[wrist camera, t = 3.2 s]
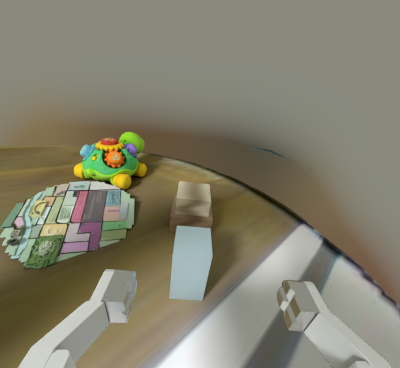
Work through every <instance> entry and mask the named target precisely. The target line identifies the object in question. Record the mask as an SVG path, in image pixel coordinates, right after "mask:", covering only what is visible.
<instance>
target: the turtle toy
mask: <svg viewBox="0 0 400 368" xmlns="http://www.w3.org/2000/svg"><path fill="white" fill-rule="evenodd" d="M143 148H144V141H143V140H142V139H141V138H140V137H139V136H138V135H136V134H135V133H132V132H126V133H124V134H122V136H121V137H120V140H119V141H118V140H116V139H115V138H104V139H102V140H101V141H100V142H98V143H95V144H94V145H91V146H89V145H84V146H83V148H82V149H81V151H80V154H81V155H82V156H83V157H85V158H84V159H83V162H82V163H79V164H77V165H76V166H75V168H74V173H75V175H76V176H77V177H80V178H82V179H89V178H93V179H95V180H100V181H110V182H111V184H112V185H113V186H116V187H118V188H120V189H127V188H129V186H130V185H131V177H130V176H131V175H135V176H139V177H143V176H144V175H145V174H146V171H147V167H146V165H145V164H143V163H139V162H138V159H137V156H136V155H137V154H139V153H140V152H141V151H142V150H143Z"/></svg>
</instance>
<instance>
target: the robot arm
mask: <svg viewBox="0 0 400 368" xmlns="http://www.w3.org/2000/svg"><path fill="white" fill-rule="evenodd" d="M135 278H136V271H127V270H114V269H106V270H105V271H104V272H103V274H102V277H101V279H100V281H99V283H98V285H97V287H96V289H95V291H94V293H93V295H92V297H91V299H90V301H86V302H84V303H83V304H82V305H81V306H80V307H78V308H77V309H76V310H75V311H74V312H72V313H71V314H70V315H69V316H68V317H67V318H65V319H64V320H63V321H62V322H61V323H59V324H58V325H57V326H56V327H55V328H53V329H52V330H51V331H50V332H49V333H47V334H46V335H45V336H44V337H43V338H41V339H40V340H39V341H38V342H37V343H35V344H34V345H33V346H32V347H31V348H30V350H29V351H28V353H27V355H26V356H25V358H24V359H23V361H22V362H21V364H20V366H19V367H18V368H78V367H77V365H76V364H75V363H76V362H77V361H78V360H79V358H80V357H81V356H82V355H83V354H84V353H85V351H86V350H87V349H88V348H89V347H90V346H91V344H92V343H93V342H94V341H95V340H96V339H97V338H98V336H99V335H100V334H101V333H102V332H103V331H104V329H105V328H106V327H107V326H108V325H109V322H113V323H127V321H128V318H129V314H130V311H131V302H132V301H133V300H134V297H135V294H136V289H137V280H136V279H135ZM282 286H283V287H281V288H279V290H278V292H277V299H278V303H279V306H280V308H281V309H282V310H283V311H284V314H283V318H284V320H285V323H286V326H287V329H288V330H291V331H304V333H305V335H306V336H307V337H308V338H309V339H310V341H311V342H312V343H313V344H314V346H315V347H316V348H317V349H318V351H319V352H320V353H321V354H322V355H323V357H324V358H325V359H326V360H327V362H328V363H329V364H330V365H331V366H332V368H392V367H391V366H390V364H389V363H388V361H387V360H385V359H384V358H383V357H382V356H381V355H380V354H379V353H377V352H376V351H375V350H374V349H373V348H372V347H371V346H370V345H368V344H367V343H366V342H365V341H364V340H363V339H362V338H360V337H359V336H358V335H357V334H356V333H355V332H354V331H353V330H351V329H350V328H349V327H348V326H347V325H346V324H345V323H343V322H342V321H341V320H340V319H339V318H338V317H337V316H336V315H334V314H331V313H330V311H329V309H328V308H327V306H326V304H325V302H324V301H323V299H322V297H321V295H320V294H319V292H318V290H317V288H316V287H315V285H314V284H313V283H312V282H309V281H293V280H284V281H283V282H282Z"/></svg>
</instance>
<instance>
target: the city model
mask: <svg viewBox="0 0 400 368" xmlns="http://www.w3.org/2000/svg"><path fill="white" fill-rule="evenodd" d="M132 225H134V199H130V194H127V192H124V191H123V190H122V191H121V190H120V188H118V187H116V186H111V185H110V184H109V185H108V184H105V182H99V181H97V182H89V181H82V182H69V183H68V184H61V185H60V186H58V185H55V186H54V187H51V188H46V190H45V192H44V191H43V192H39V193H38V194H37V195H36V196H34V198H33V197H32V198H31V199H26V201H25V203H17V204H16V206H15V207H14V209H13V210H12V211H11V213H10V214H9V216H8V217H7V218H6V220H5V221H4V223H3V224H2V226H1V227H0V228H1V229H4V231H3V232H2V234H1V235H0V237H6V239H5V240H4V242H3V243H2V244H3V245H9V246H8V247H7V249H6V251H5V253H7V252H10V253H9V255H12V256H11V258H19V256H20V258H19V260H18V261H20V260H21V262H25V263H24V265H23V266H25V267H24V269H25V268H41V267H44V268H45V267H46V266H47V265H50V264H53V263H55V264H56V262H59V261H62V260H65V259H68V258H70V257H73V256H76V255H79V254H82V253H85V252H90V251H93V250H96V249H99V248H100V247H103V246H106V245H109V244H112V243H115V242H118V241H119V239H123V238H126V232H127V229H129V228H132ZM3 245H2V246H3ZM58 258H59V259H58ZM57 260H58V261H57ZM21 262H20V263H21Z"/></svg>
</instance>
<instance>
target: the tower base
mask: <svg viewBox="0 0 400 368" xmlns="http://www.w3.org/2000/svg"><path fill="white" fill-rule="evenodd" d="M212 224H213V213H212V203H211V195H210V185H209V184H202V183H192V182H182V181H179V186H178V192H177V193H175V194H174V199H173V203H172V208H171V213H170V221H169V231H174V232H176V228H177V225H178V226H189V227H201V228H210V229H212Z"/></svg>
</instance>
